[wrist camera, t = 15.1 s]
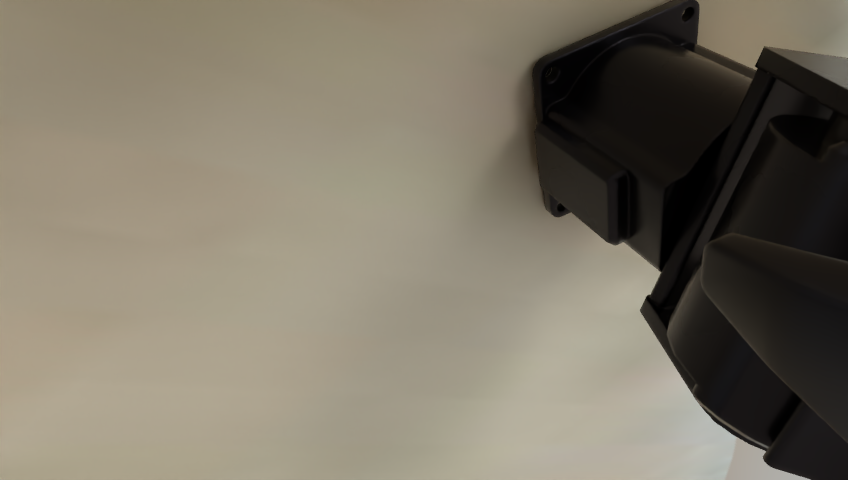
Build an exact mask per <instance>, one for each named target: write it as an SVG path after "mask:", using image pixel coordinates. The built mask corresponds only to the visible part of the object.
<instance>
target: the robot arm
mask: <svg viewBox="0 0 848 480" xmlns="http://www.w3.org/2000/svg"><path fill="white" fill-rule="evenodd" d="M684 11H685V12H684ZM683 12H684V14H683ZM682 14H683V15H682ZM698 22H699V4H698V2H697V1H696V0H672V1H670V2H668V3H665V4H663V5H661V6H659V7H656V8H654V9H652V10H649V11H647V12H645V13H642V14H640V15H638V16H635V17H633V18H631V19H629V20H626V21H624V22H622V23H619V24H617V25H615V26H612V27H610V28H608V29H606V30H603V31H601V32H599V33H596V34H594V35H592V36H589V37H587V38H585V39H582V40H580V41H578V42H576V43H573V44H571V45H569V46H566V47H564V48H562V49H559V50H557V51H555V52H553V53H550V54H548V55H546V56H544V57H542V58H541V59H539V60H538V62H537V63H536V64H535V66H534V69H533V75H532V77H533V87H534V97H535V108H536V118H537V125H536V128H535V139H536V149H537V159H538V169H539V179H540V186H541V187H542V188H543V190H544V200H545V207H546V210H547V211H549V212H550V213H551V214H552V215H553V216H555V217H561V216H564V215H566V214H568V213H570V212H572V213H573V214H574V215H575V216H576V217H578V218H579V219H580V220H581V221H582V222H584V223H585V224H586V225H587V226H588V227H590V228H591V229H592V230H593V231H594V232H595V233H597V234H598V235H599V236H600V237H601V238H603V239H604V240H605V241H606V242H608V243H610V244H613V245H618V244H620V243H622V242H625V243H626V244H627V245H628V246H629V247H631V248H632V249H633V250H634V251H636V252H637V253H638V254H639V255H641V256H642V257H643V258H644V259H645V260H647V261H648V262H649V263H650V264H652V265H653V266H654V267H655V268H656V269H658V270H659V271H660V272H661V274H660V276H659V278H658V280H657V282H656V284H655V286H654V288H653V291H652V293H651V295H647V297H646V299H645V301H644V303H643V305H642V307H641V309H640V311H641V313H642V315H643V316H644V318H645V320H646V321H647V323H648V324H649V326H650V328H651V329H652V331H653V332H654V334H655V336H656V337H657V339H658V340H659V342H660V343H661V345H662V347H663V348H664V350H665V351H666V353H667V355H668V356H669V358H670V359H671V361H672V362H673V364H674V366H675V367H676V369H677V370H678V372H679V374H680V375H681V377H682V378H683V380H684V381H685V383H686V385H687V386H688V388H689V389H690V391H691V393H692V394H693V396H694V397H695V399H696V400H697V402H698V403H699V404H700V406H701V407H702V408H703V409H704V411H705V412H706V413H707V414H708V415H709V416H710V417H711V418H712V419H713V421H714V422H716V423H717V424H718V425H720V426H722V427H723V428H725V429H726V430H727V431H729V432H730V433H731V434H733V435H734V436H736V437H738V438H740V439H742V440H743V441H745V442H747V443H748V444H750V445H753V446H755V447H758V448H760V449H763V450H765V451H766V453H765V454H764V456H763V459H764V461H765V462H766V463H767V464H768V465H769V466H771V467H773V468H775V469H778V470H782V471H785V472H788V473H792V474H795V475H798V476H802V477H805V478H808V479H811V480H848V58H843V57H836V56H829V55H822V54H815V53H808V52H801V51H794V50H787V49H780V48H773V47H766V46H764V48H763V50H762V52H761V55H760V57H759V59H758V61H757V63H756V65H755V67H757V68H758V69H757V71H756V70H754V69H752V68H749V67H747V66H745V65H743V64H740V63H738V62H736V61H733V60H731V59H729V58H727V57H724V56H722V55H720V54H718V53H715V52H713V51H711V50H708V49H706V48H704V47H702V46H699V45H697V35H698ZM551 67H552V70H551V73H550V74H549V75H548V76H547V77H546V73H547V71H548V70H549V69H550V68H551ZM559 202H560V204H558V203H559Z"/></svg>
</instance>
